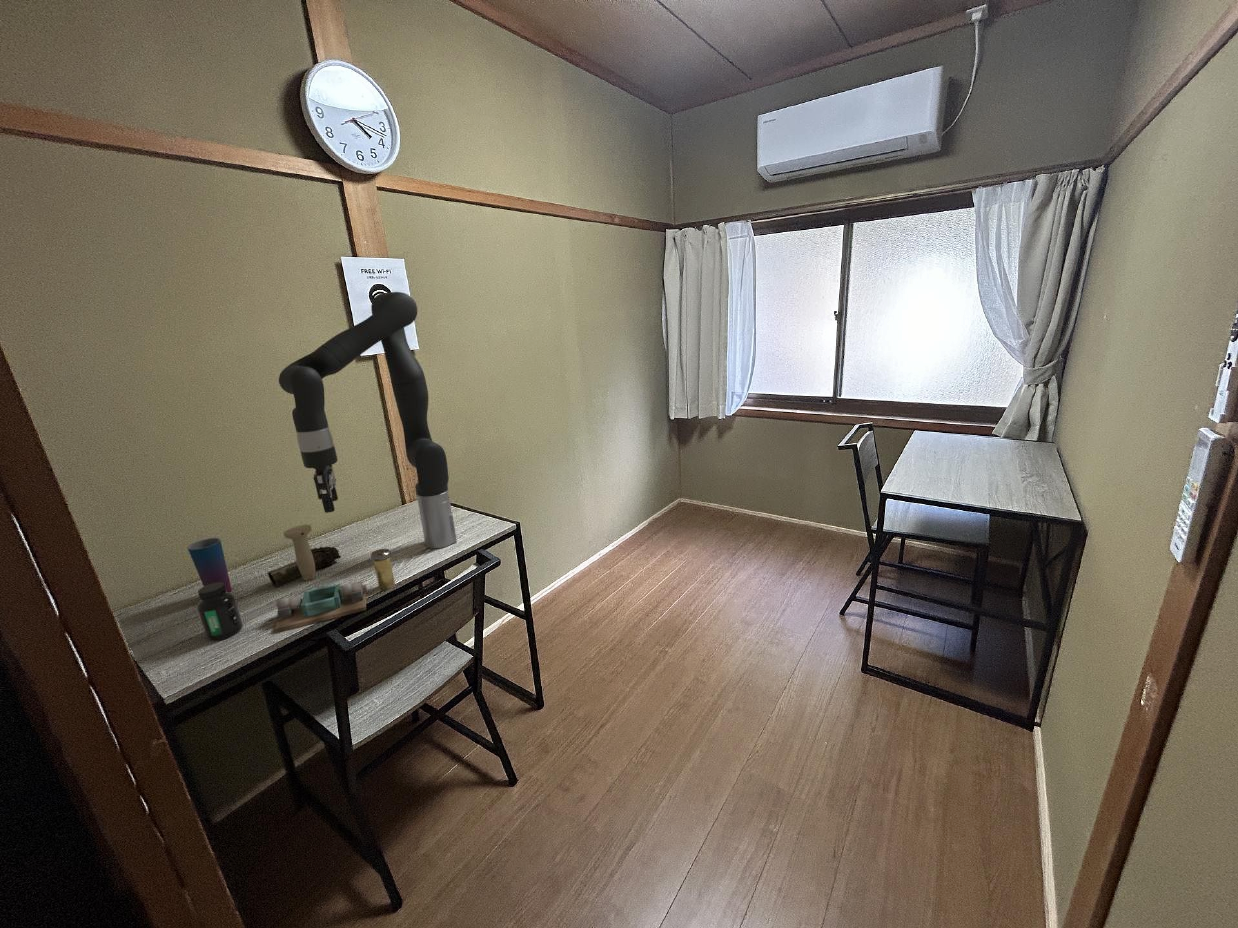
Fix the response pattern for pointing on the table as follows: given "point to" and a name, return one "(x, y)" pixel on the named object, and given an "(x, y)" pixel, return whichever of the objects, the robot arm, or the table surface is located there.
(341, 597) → the shaft bench
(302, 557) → the handle
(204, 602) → the supplement bottle
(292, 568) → the dark brown elongated piece
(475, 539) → the table surface
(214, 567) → the cup
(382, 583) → the cylinder
